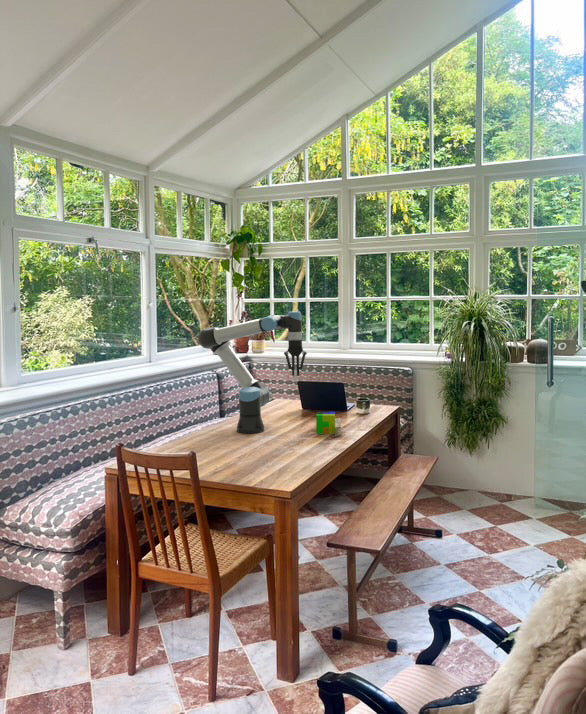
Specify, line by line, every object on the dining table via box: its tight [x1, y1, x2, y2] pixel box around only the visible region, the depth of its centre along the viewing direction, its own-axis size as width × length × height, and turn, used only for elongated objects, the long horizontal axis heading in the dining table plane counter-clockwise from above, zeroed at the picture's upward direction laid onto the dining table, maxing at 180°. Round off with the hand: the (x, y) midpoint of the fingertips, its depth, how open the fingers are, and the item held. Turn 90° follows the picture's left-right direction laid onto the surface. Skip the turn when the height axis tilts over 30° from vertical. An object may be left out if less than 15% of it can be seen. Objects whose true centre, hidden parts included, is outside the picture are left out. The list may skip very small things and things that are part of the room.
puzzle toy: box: [315, 411, 336, 435], centre depth 338 cm, size 10×10×10 cm
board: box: [334, 417, 342, 437], centre depth 337 cm, size 3×22×5 cm, turn 176°
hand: (295, 381), depth 347 cm, fingers closed
